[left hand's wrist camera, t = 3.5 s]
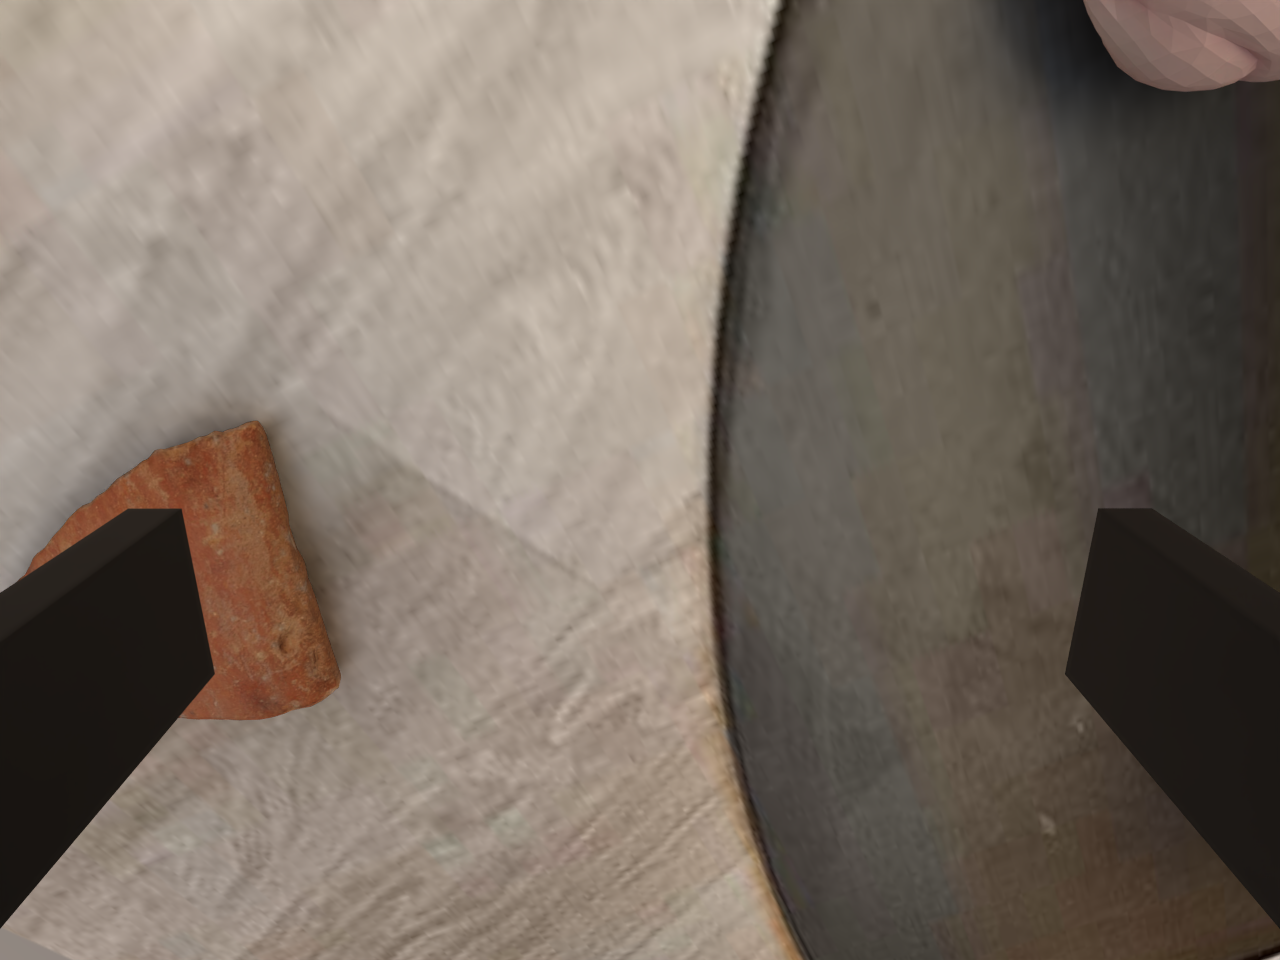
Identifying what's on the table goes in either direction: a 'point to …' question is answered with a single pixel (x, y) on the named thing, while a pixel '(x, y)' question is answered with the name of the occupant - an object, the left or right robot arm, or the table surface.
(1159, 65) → the toy
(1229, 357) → the table surface
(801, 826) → the table surface
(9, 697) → the left robot arm
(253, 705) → the ceramic shard
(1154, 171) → the table surface
